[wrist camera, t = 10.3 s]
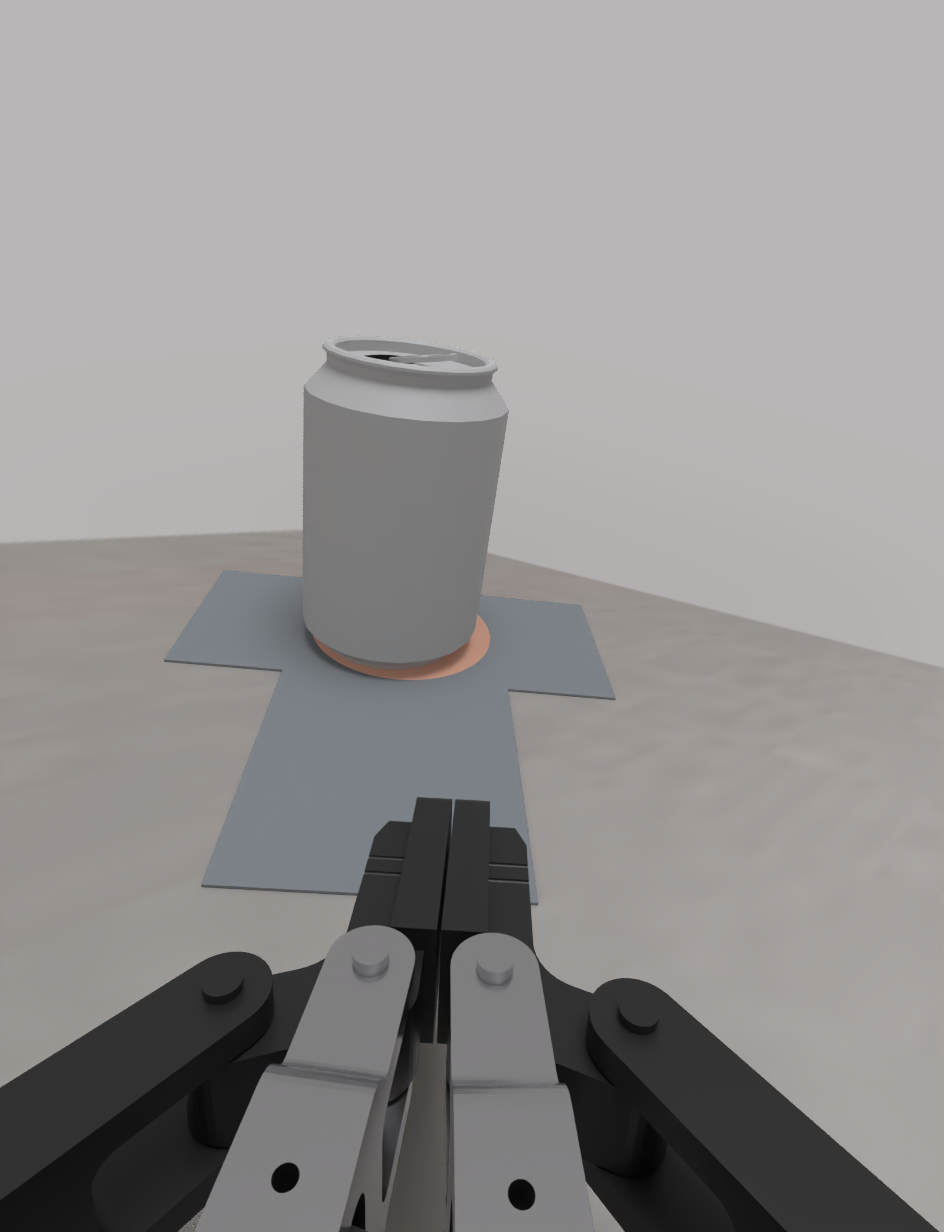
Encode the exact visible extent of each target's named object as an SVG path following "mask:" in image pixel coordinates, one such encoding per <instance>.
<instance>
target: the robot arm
mask: <svg viewBox="0 0 944 1232" xmlns="http://www.w3.org/2000/svg"><path fill="white" fill-rule="evenodd" d="M451 830H452V834H451ZM438 989H439V1005H438V1033H437V1043H441V1044H447V1059H446V1083H445V1232H595V1230H594V1225H593V1219H592V1214H591V1208H590V1203H589V1197H588V1191H587V1186H586V1182H587V1184H588V1185H589V1186H590V1187H591V1189H592V1190H593V1191H594V1193H595V1194H596V1195H597V1196H598V1198H599V1199H600V1200H601V1202H602V1203H603V1204H604V1205H605V1207H606V1208H607V1209H608V1211H609V1212H610V1213H611V1214H612V1216H613V1217H614V1218H615V1220H616V1221H617V1222H618V1223H619V1225H620V1226H621V1227H622V1229H623V1230H624V1231H625V1232H939V1231H938V1230H937V1229H935V1228H934V1227H933V1226H932V1225H931V1224H930V1223H929V1222H927V1221H926V1220H925V1219H924V1218H923V1217H922V1216H921V1215H919V1214H918V1213H917V1212H916V1211H915V1210H914V1209H913V1208H911V1207H910V1206H909V1205H908V1204H907V1203H906V1202H905V1201H903V1200H902V1199H901V1198H900V1197H899V1196H898V1195H897V1194H895V1193H894V1192H893V1191H892V1190H891V1189H890V1188H889V1187H887V1186H886V1185H885V1184H884V1183H883V1182H882V1181H880V1180H879V1179H878V1178H877V1177H876V1176H875V1175H874V1174H872V1173H871V1172H870V1171H869V1170H868V1169H867V1168H866V1167H864V1166H863V1165H862V1164H861V1163H860V1162H859V1161H858V1160H856V1159H855V1158H854V1157H853V1156H852V1155H851V1154H850V1153H848V1152H847V1151H846V1150H845V1149H844V1148H843V1147H842V1146H840V1145H839V1144H838V1143H837V1142H836V1141H835V1140H834V1139H832V1138H831V1137H830V1136H829V1135H828V1134H827V1133H826V1132H824V1131H823V1130H822V1129H821V1128H820V1127H819V1126H818V1125H816V1124H815V1123H814V1122H813V1121H812V1120H811V1119H810V1118H808V1117H807V1116H806V1115H805V1114H804V1113H803V1112H802V1111H800V1110H799V1109H798V1108H797V1107H796V1106H795V1105H794V1104H792V1103H791V1102H790V1101H789V1100H788V1099H787V1098H785V1097H784V1096H783V1095H782V1094H781V1093H780V1092H779V1091H777V1090H776V1089H775V1088H774V1087H773V1086H772V1085H771V1084H769V1083H768V1082H767V1081H766V1080H765V1079H764V1078H763V1077H761V1076H760V1075H759V1074H758V1073H757V1072H756V1071H755V1070H753V1069H752V1068H751V1067H750V1066H749V1065H748V1064H747V1063H745V1062H744V1061H743V1060H742V1059H741V1058H740V1057H739V1056H737V1055H736V1054H735V1053H734V1052H733V1051H732V1050H731V1049H729V1048H728V1047H727V1046H726V1045H725V1044H724V1043H723V1042H721V1041H720V1040H719V1039H718V1038H717V1037H716V1036H715V1035H713V1034H712V1033H711V1032H710V1031H709V1030H708V1029H707V1028H705V1027H704V1026H703V1025H702V1024H701V1023H700V1022H699V1021H697V1020H696V1019H695V1018H694V1017H693V1016H692V1015H690V1014H689V1013H688V1012H687V1011H686V1010H685V1009H684V1008H682V1007H681V1006H680V1005H679V1004H678V1003H677V1002H676V1001H674V1000H673V999H672V998H671V997H670V996H669V995H667V994H666V993H665V992H664V991H662V990H661V989H659V988H657V987H656V986H654V985H652V984H650V983H647V982H644V981H641V980H637V979H631V978H620V979H614V980H611V981H608V982H606V983H604V984H602V985H601V986H600V987H599V988H597V990H596V991H595V992H594V994H593V993H590V992H587V991H584V990H581V989H579V988H576V987H573V986H571V985H568V984H566V983H564V982H562V981H560V980H559V979H557V978H556V977H554V976H553V975H552V974H550V973H549V972H548V971H547V970H546V969H545V968H544V966H543V965H542V964H541V963H540V961H539V959H538V958H537V956H536V953H535V950H534V946H533V935H532V920H531V905H530V889H529V874H528V859H527V845H526V844H525V842H524V841H523V839H522V838H521V836H520V835H519V833H518V832H517V830H516V829H515V828H505V827H490V801H480V800H463V799H455V806H454V815H453V825H452V799H443V798H426V797H417V800H416V804H415V809H414V814H413V819H412V822H402V821H389V822H388V823H387V824H386V825H385V826H384V827H383V828H382V829H381V830H380V831H379V832H378V833H377V834H376V835H375V836H374V839H373V843H372V846H371V850H370V853H369V859H368V860H367V864H366V867H365V872H364V874H363V878H362V881H361V885H360V888H359V892H358V895H357V899H356V902H355V906H354V909H353V913H352V916H351V920H350V923H349V927H348V930H347V933H345V934H344V935H342V936H341V937H340V938H339V939H338V940H336V941H335V943H334V944H333V945H332V946H331V948H330V950H329V952H328V954H327V956H326V958H325V959H323V960H321V961H320V962H318V963H316V964H313V965H311V966H308V967H305V968H301V969H297V970H292V971H288V972H283V973H278V974H273V975H272V973H271V970H270V968H269V966H268V964H267V963H266V962H265V961H264V960H263V959H261V958H260V957H258V956H256V955H254V954H250V953H247V952H228V953H222V954H219V955H215V956H213V957H210V958H208V959H206V960H204V961H202V962H200V963H199V964H197V965H195V966H194V967H192V968H191V969H189V970H187V971H186V972H184V973H183V974H181V975H179V976H178V977H176V978H175V979H173V980H171V981H170V982H168V983H167V984H165V985H163V986H162V987H160V988H159V989H157V990H155V991H154V992H152V993H151V994H149V995H147V996H146V997H144V998H143V999H141V1000H139V1001H138V1002H136V1003H135V1004H133V1005H132V1006H130V1007H128V1008H127V1009H125V1010H124V1011H122V1012H120V1013H119V1014H117V1015H116V1016H114V1017H112V1018H111V1019H109V1020H108V1021H106V1022H104V1023H103V1024H101V1025H100V1026H98V1027H96V1028H95V1029H93V1030H92V1031H90V1032H88V1033H87V1034H85V1035H84V1036H82V1037H80V1038H79V1039H77V1040H76V1041H74V1042H72V1043H71V1044H69V1045H68V1046H66V1047H65V1048H63V1049H61V1050H60V1051H58V1052H57V1053H55V1054H53V1055H52V1056H50V1057H49V1058H47V1059H45V1060H44V1061H42V1062H41V1063H39V1064H37V1065H36V1066H34V1067H33V1068H31V1069H29V1070H28V1071H26V1072H25V1073H23V1074H21V1075H20V1076H18V1077H17V1078H15V1079H13V1080H12V1081H10V1082H9V1083H7V1084H5V1085H4V1086H2V1087H1V1088H0V1232H178V1231H179V1230H180V1229H181V1228H182V1227H183V1226H184V1225H185V1224H186V1223H187V1222H188V1221H190V1220H191V1219H192V1218H193V1217H194V1216H195V1215H196V1214H197V1213H198V1212H199V1211H200V1210H202V1209H203V1208H204V1210H203V1212H202V1214H201V1217H200V1219H199V1221H198V1224H197V1226H196V1228H195V1231H194V1232H385V1226H386V1220H387V1214H388V1209H389V1204H390V1199H391V1194H392V1189H393V1184H394V1179H395V1174H396V1169H397V1164H398V1159H399V1154H400V1149H401V1144H402V1139H403V1134H404V1130H405V1125H406V1120H407V1115H408V1110H409V1105H410V1100H411V1095H412V1084H413V1078H414V1075H415V1072H416V1067H417V1060H418V1052H419V1044H420V1042H421V1043H433V1039H434V1029H435V1019H436V1009H437V999H438Z"/></svg>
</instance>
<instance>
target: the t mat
mask: <svg viewBox="0 0 944 1232" xmlns="http://www.w3.org/2000/svg"><path fill="white" fill-rule="evenodd" d="M164 662H175V663H186V664H198V665H210V666H222V667H233V668H245V669H257V670H269V671H280V672H281V675H280V678H279V680H278V683H277V686H276V688H275V691H274V693H273V696H272V699H271V701H270V704H269V707H268V709H267V712H266V715H265V717H264V720H263V723H262V725H261V728H260V731H259V733H258V736H257V738H256V741H255V744H254V746H253V749H252V752H251V754H250V757H249V760H248V762H247V765H246V768H245V770H244V773H243V776H242V778H241V781H240V784H239V786H238V789H237V791H236V794H235V797H234V799H233V802H232V805H231V807H230V810H229V813H228V815H227V818H226V821H225V823H224V826H223V829H222V831H221V834H220V837H219V839H218V842H217V844H216V847H215V850H214V852H213V855H212V858H211V860H210V863H209V866H208V868H207V871H206V874H205V876H204V879H203V882H202V884H201V886H202V887H210V888H229V889H247V890H265V891H284V892H302V893H320V894H339V895H358V892H359V888H360V885H361V881H362V878H363V874H364V872H365V867H366V864H367V860H368V859H369V853H370V850H371V846H372V843H373V839H374V836H375V835H376V834H377V833H378V832H379V831H380V830H381V829H382V828H383V827H384V826H385V825H386V824H387V823H388V822H389V821H402V822H412V819H413V814H414V809H415V804H416V800H417V797H426V798H443V799H452V825H453V815H454V806H455V799H463V800H480V801H490V827H505V828H515V829H516V830H517V832H518V833H519V835H520V836H521V838H522V839H523V841H524V842H525V844H526V845H527V859H528V874H529V889H530V905H538V898H537V891H536V884H535V877H534V870H533V863H532V856H531V849H530V842H529V835H528V828H527V820H526V813H525V806H524V799H523V792H522V785H521V778H520V771H519V764H518V757H517V749H516V742H515V735H514V728H513V721H512V714H511V707H510V700H509V693H508V691H515V692H526V693H538V694H550V695H562V696H573V697H585V698H597V699H608V700H615V696H614V693H613V690H612V688H611V685H610V682H609V680H608V677H607V674H606V672H605V669H604V666H603V663H602V661H601V658H600V655H599V653H598V650H597V647H596V645H595V642H594V639H593V637H592V634H591V631H590V629H589V626H588V623H587V621H586V618H585V615H584V613H583V610H582V607H581V605H573V604H563V603H553V602H543V601H533V600H523V599H513V598H502V597H492V596H482V595H480V600H479V607H478V613H477V620H476V626H475V630H474V632H473V634H472V636H471V637H470V639H469V641H468V642H467V643H466V644H464V645H463V646H461V647H460V648H458V649H457V650H456V651H454V652H453V653H451V654H448V655H446V656H444V657H443V658H441V659H440V660H438V661H437V662H434V663H431V664H428V665H425V666H422V667H419V668H411V669H401V670H391V669H378V668H371V667H368V666H364V665H360V664H356V663H353V662H351V661H349V660H347V659H345V658H343V657H341V656H339V655H337V654H335V653H334V652H333V651H332V650H331V649H330V648H329V647H328V646H326V645H325V644H323V643H321V642H320V641H319V640H318V639H317V638H316V637H315V636H314V635H313V634H312V633H311V632H310V631H309V630H308V629H307V627H306V624H305V621H304V617H303V578H300V577H290V576H280V575H270V574H259V573H249V572H239V571H229V570H224V571H223V572H222V574H221V575H220V577H219V578H218V580H217V581H216V583H215V584H214V586H213V587H212V589H211V590H210V592H209V593H208V595H207V596H206V598H205V599H204V601H203V602H202V604H201V605H200V607H199V608H198V610H197V611H196V613H195V614H194V616H193V617H192V619H191V620H190V622H189V623H188V625H187V626H186V628H185V629H184V631H183V632H182V634H181V635H180V637H179V638H178V640H177V641H176V643H175V644H174V646H173V647H172V649H171V650H170V651H169V653H168V654H167V656H166V657H165V659H164ZM451 834H452V830H451Z"/></svg>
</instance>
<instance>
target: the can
mask: <svg viewBox="0 0 944 1232" xmlns="http://www.w3.org/2000/svg"><path fill="white" fill-rule="evenodd" d="M323 349H324V350H325V351H326V352H327V361H326V362H325V363H324V365H323V366H322V367H321V368H320V369H319V370H318V371H317V372H316V373H315V374H314V375H313V376H312V377H311V378H310V379H309V380H308V381H307V382H306V384H305V385H304V443H303V444H304V445H303V447H304V448H303V449H304V451H303V617H304V621H305V624H306V627H307V629H308V630H309V631H310V632H311V633H312V634H313V635H314V636H315V637H316V638H317V639H318V640H319V641H320V642H321V643H323V644H325V645H326V646H328V647H329V648H330V649H331V650H332V651H333V652H334V653H335V654H337V655H339V656H341V657H343V658H345V659H347V660H349V661H351V662H353V663H356V664H360V665H364V666H368V667H371V668H378V669H391V670H401V669H411V668H419V667H422V666H425V665H428V664H431V663H434V662H437V661H438V660H440V659H441V658H443V657H444V656H446V655H448V654H451V653H453V652H454V651H456V650H457V649H458V648H460V647H461V646H463V645H464V644H466V643H467V642H468V641H469V639H470V637H471V636H472V634H473V632H474V630H475V626H476V620H477V613H478V607H479V600H480V594H481V587H482V581H483V574H484V568H485V561H486V555H487V548H488V542H489V535H490V528H491V522H492V515H493V509H494V503H495V496H496V490H497V483H498V477H499V470H500V464H501V457H502V450H503V444H504V438H505V431H506V425H507V418H508V412H509V411H508V408H507V406H506V404H505V402H504V400H503V399H502V397H501V396H500V394H499V392H498V391H497V389H496V388H495V386H494V384H493V383H492V381H491V380H492V375H493V373H494V372H495V371H497V369H498V367H497V365H496V363H495V362H494V360H492V359H490V358H488V357H486V356H484V355H482V354H479V353H475V352H472V351H469V350H465V349H461V348H456V347H452V346H447V345H442V344H436V343H431V342H424V341H417V340H409V339H401V338H390V337H379V336H340V337H334V338H329V339H328V340H327V341H326V342H325V343H324V344H323Z"/></svg>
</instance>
